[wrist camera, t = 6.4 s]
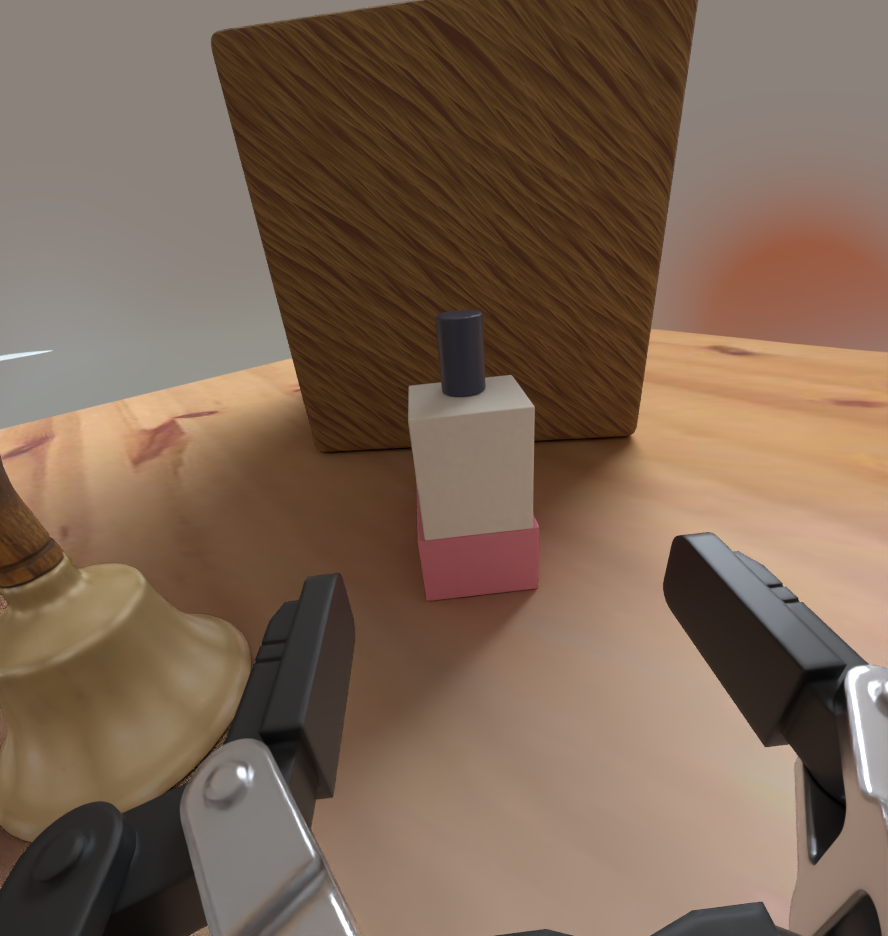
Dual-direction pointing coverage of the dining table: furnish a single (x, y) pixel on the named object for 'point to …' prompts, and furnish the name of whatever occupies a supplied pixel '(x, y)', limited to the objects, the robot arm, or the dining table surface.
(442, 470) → the block stack
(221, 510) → the dining table surface
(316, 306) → the wood block
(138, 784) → the hand bell
